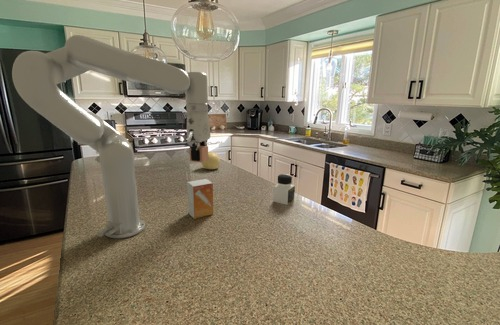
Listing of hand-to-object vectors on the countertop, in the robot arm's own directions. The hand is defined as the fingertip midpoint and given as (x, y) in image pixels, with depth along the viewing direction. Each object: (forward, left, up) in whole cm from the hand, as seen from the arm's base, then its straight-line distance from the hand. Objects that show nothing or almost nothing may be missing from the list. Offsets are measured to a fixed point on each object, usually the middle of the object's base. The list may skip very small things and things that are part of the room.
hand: (199, 158), depth 96 cm
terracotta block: (0, 0, -1) cm, 1 cm away
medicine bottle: (+23, -29, -23) cm, 43 cm away
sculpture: (+62, +24, -23) cm, 70 cm away
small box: (0, 0, -23) cm, 23 cm away
